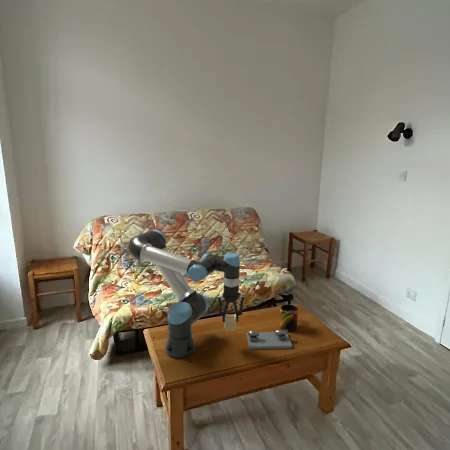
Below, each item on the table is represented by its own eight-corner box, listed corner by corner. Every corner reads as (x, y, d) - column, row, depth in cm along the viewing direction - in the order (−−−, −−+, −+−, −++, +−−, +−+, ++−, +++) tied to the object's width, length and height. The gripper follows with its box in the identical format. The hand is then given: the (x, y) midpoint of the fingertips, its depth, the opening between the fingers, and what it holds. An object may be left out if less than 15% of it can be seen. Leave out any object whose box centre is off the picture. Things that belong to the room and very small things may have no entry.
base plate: (249, 349, 175) (249, 346, 174) (246, 335, 187) (246, 332, 187) (292, 348, 176) (292, 345, 176) (286, 334, 188) (286, 331, 188)
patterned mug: (288, 318, 205) (289, 300, 202) (299, 330, 192) (301, 311, 189) (273, 320, 202) (274, 302, 199) (284, 333, 189) (285, 313, 186)
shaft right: (276, 341, 179) (277, 333, 178) (273, 336, 183) (274, 328, 182) (288, 339, 181) (289, 331, 180) (285, 334, 185) (285, 327, 184)
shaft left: (248, 341, 178) (248, 333, 177) (247, 337, 183) (247, 329, 182) (259, 341, 179) (259, 333, 178) (257, 336, 183) (258, 329, 182)
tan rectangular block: (234, 331, 171) (235, 320, 170) (226, 331, 171) (226, 320, 169) (233, 325, 177) (234, 314, 176) (225, 325, 177) (226, 314, 175)
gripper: (214, 287, 164) (213, 331, 170) (249, 287, 165) (247, 331, 171) (213, 281, 171) (213, 323, 177) (247, 281, 172) (246, 323, 178)
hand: (230, 327), depth 174 cm, fingers closed on tan rectangular block, 4 cm apart
